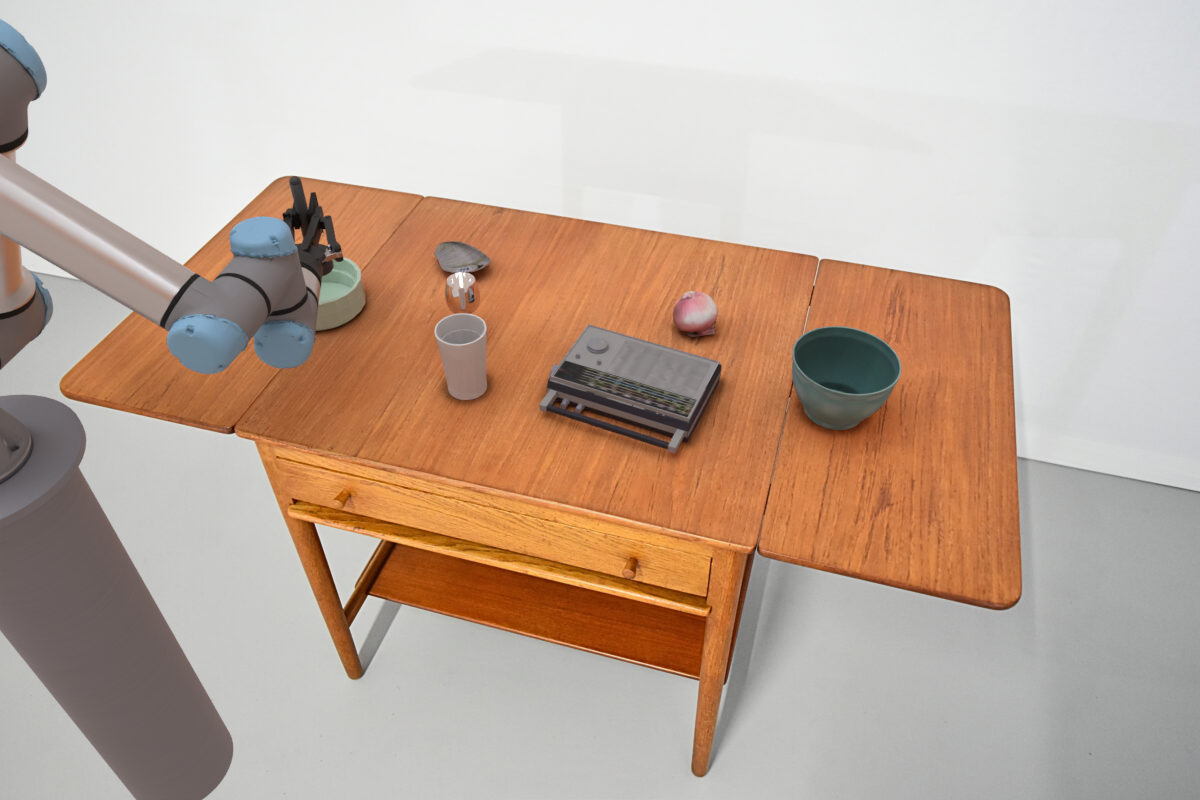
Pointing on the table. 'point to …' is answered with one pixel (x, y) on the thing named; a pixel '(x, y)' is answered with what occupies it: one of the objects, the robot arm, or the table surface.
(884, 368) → the flower pot
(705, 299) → the onion
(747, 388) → the table surface
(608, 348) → the radio
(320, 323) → the bowl
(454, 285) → the wineglass
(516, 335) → the table surface
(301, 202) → the plunger
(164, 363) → the table surface
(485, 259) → the seashell
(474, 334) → the cup
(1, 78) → the robot arm
